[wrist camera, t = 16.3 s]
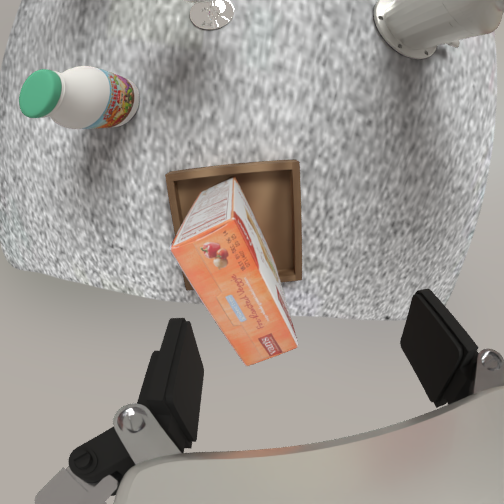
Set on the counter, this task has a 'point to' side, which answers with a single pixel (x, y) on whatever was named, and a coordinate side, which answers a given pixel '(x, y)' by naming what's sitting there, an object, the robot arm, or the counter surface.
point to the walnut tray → (252, 204)
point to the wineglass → (211, 13)
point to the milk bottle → (80, 97)
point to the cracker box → (235, 273)
